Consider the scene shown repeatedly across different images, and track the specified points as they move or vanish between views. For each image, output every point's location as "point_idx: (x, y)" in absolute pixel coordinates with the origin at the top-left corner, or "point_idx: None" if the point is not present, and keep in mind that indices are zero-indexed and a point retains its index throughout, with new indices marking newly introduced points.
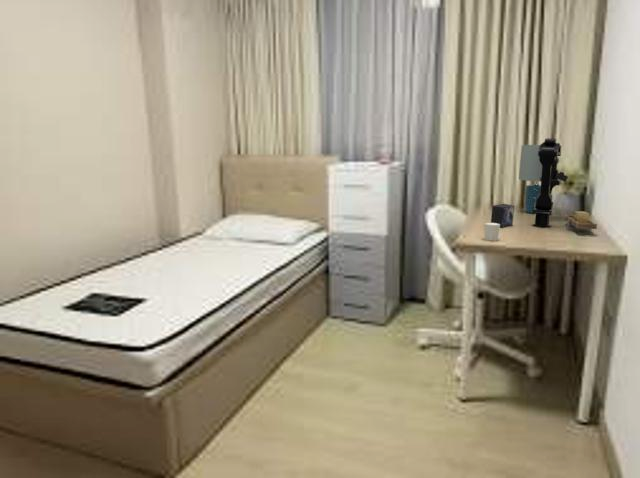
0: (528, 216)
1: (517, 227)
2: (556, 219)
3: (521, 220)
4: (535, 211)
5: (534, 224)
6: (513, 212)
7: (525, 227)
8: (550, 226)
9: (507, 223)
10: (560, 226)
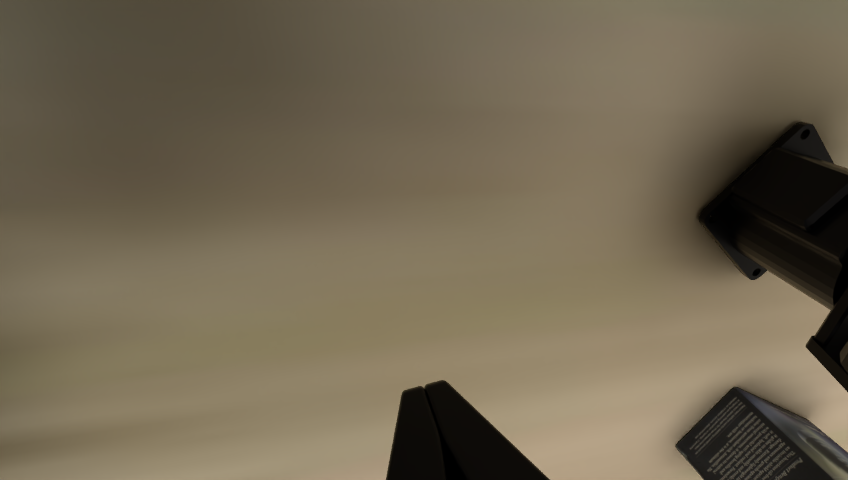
0: (228, 360)
1: (799, 350)
2: (289, 31)
3: (509, 374)
4: (834, 345)
5: (750, 264)
6: (833, 473)
7: (804, 307)
8: (807, 127)
9: (796, 420)
10: (782, 16)
